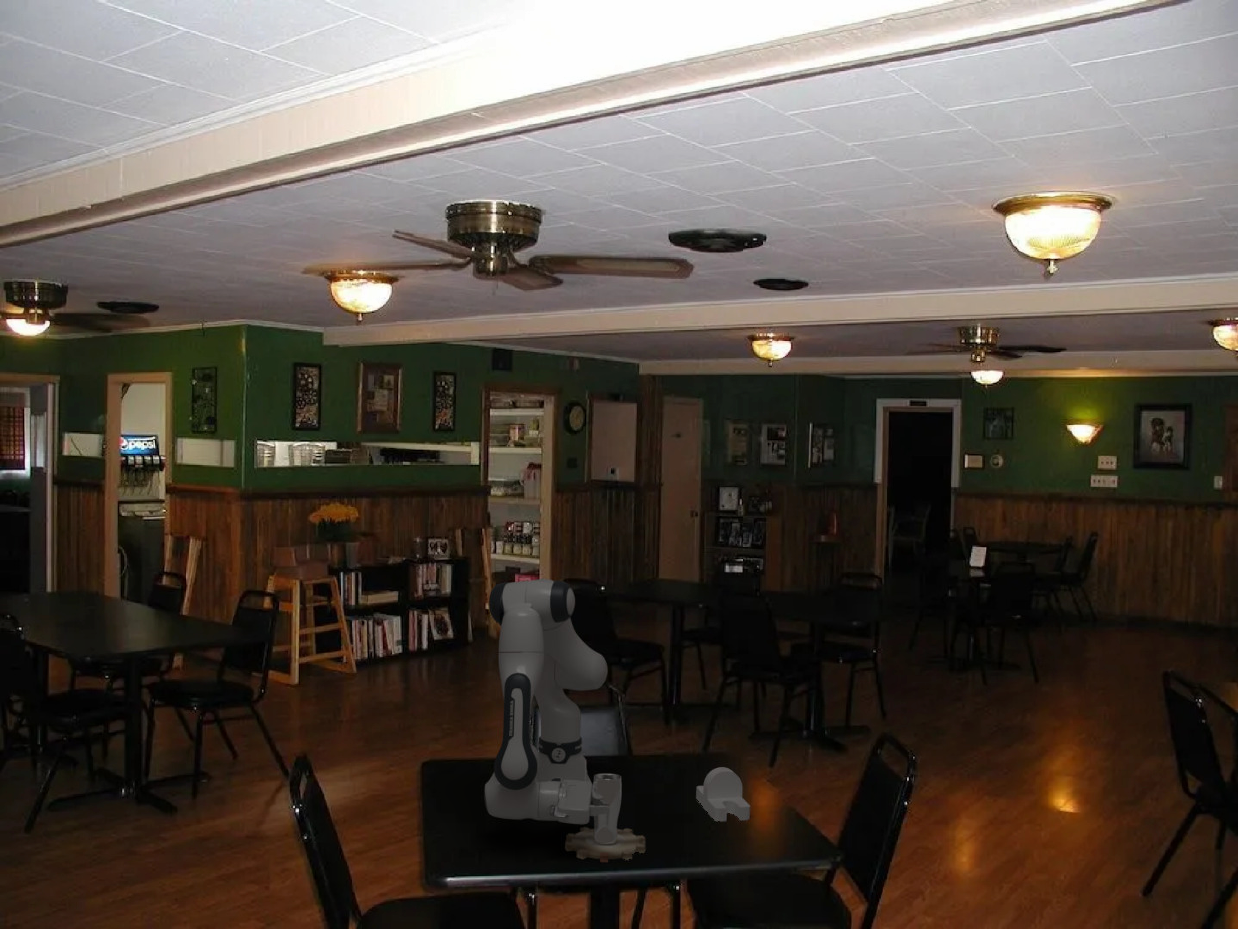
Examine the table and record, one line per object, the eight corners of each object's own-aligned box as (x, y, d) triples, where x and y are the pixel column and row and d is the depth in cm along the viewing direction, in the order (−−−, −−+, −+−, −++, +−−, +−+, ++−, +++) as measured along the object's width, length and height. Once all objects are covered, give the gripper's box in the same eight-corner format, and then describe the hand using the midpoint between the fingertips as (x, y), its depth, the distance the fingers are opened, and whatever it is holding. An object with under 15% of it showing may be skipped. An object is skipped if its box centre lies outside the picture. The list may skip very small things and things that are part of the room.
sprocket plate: (568, 830, 272) (568, 824, 272) (644, 832, 272) (645, 826, 272) (562, 861, 253) (563, 854, 253) (645, 863, 253) (645, 857, 253)
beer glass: (584, 839, 262) (587, 775, 262) (605, 834, 266) (608, 771, 267) (604, 846, 257) (607, 781, 257) (625, 841, 262) (628, 777, 262)
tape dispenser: (715, 822, 281) (716, 781, 281) (695, 799, 299) (696, 760, 298) (750, 820, 283) (752, 779, 283) (728, 797, 301) (730, 758, 301)
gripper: (549, 803, 252) (609, 805, 252) (555, 775, 272) (611, 776, 272) (548, 830, 252) (608, 832, 252) (555, 800, 273) (610, 802, 272)
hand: (610, 803), depth 262 cm, fingers open, 7 cm apart
